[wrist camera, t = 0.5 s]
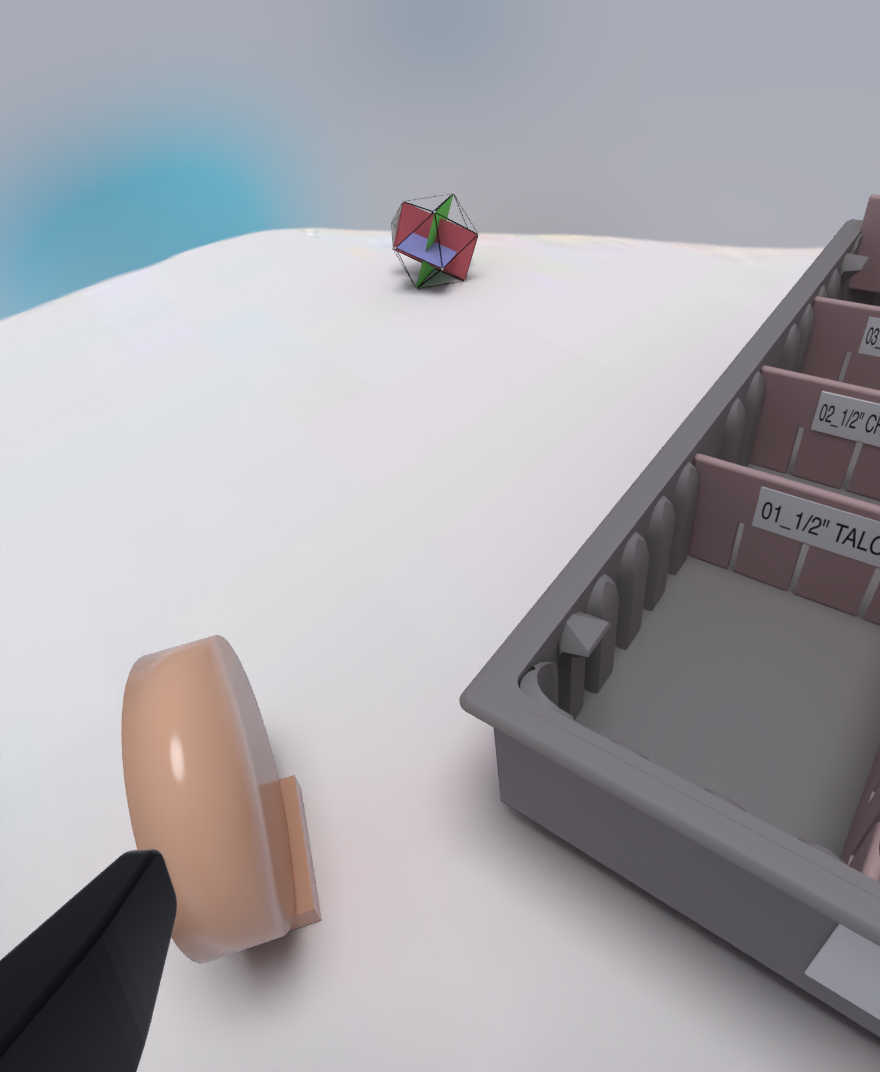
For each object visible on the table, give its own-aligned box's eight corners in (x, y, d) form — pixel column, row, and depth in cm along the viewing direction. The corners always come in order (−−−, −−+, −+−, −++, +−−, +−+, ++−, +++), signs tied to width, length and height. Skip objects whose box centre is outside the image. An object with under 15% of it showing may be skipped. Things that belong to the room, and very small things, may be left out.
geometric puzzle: (509, 240, 60) (448, 158, 58) (482, 274, 56) (415, 186, 53) (450, 286, 65) (391, 212, 62) (421, 321, 61) (356, 243, 58)
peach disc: (331, 984, 23) (236, 843, 16) (230, 1020, 22) (89, 891, 16) (293, 744, 29) (215, 572, 22) (215, 769, 29) (111, 601, 22)
